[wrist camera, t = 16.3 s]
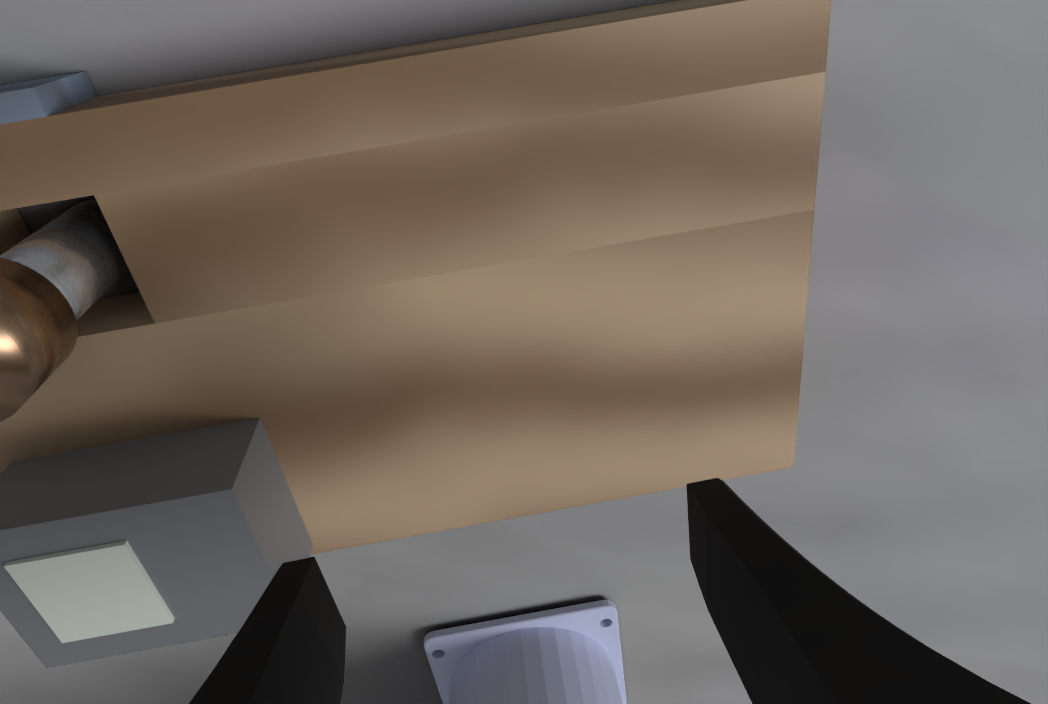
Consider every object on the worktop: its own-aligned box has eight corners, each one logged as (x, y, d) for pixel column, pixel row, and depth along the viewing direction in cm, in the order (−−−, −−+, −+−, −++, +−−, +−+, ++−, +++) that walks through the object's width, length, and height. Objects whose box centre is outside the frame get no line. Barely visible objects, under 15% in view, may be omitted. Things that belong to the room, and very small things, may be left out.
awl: (176, 272, 19) (56, 413, 13) (78, 289, 19) (-87, 438, 13) (134, 176, 18) (-22, 285, 12) (28, 194, 18) (-182, 312, 12)
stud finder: (312, 543, 22) (294, 626, 19) (93, 583, 22) (43, 672, 19) (259, 417, 19) (229, 493, 16) (11, 461, 19) (-60, 545, 16)
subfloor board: (761, 435, 25) (792, 481, 23) (45, 564, 24) (7, 622, 22) (785, -45, 17) (834, -45, 15) (-266, 128, 16) (-372, 154, 14)
